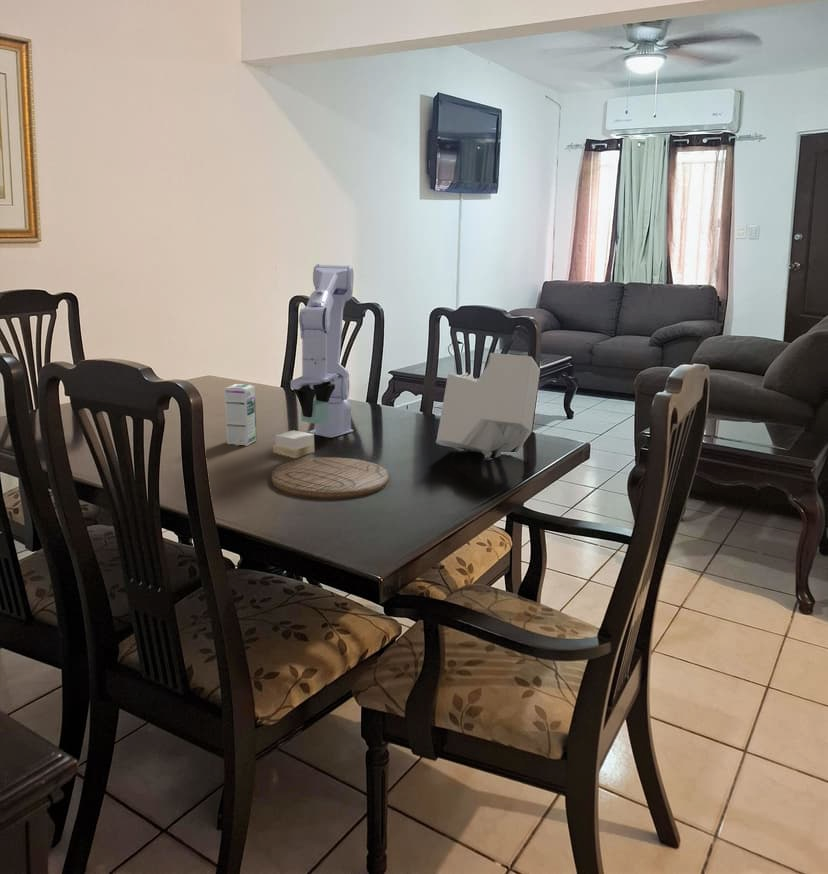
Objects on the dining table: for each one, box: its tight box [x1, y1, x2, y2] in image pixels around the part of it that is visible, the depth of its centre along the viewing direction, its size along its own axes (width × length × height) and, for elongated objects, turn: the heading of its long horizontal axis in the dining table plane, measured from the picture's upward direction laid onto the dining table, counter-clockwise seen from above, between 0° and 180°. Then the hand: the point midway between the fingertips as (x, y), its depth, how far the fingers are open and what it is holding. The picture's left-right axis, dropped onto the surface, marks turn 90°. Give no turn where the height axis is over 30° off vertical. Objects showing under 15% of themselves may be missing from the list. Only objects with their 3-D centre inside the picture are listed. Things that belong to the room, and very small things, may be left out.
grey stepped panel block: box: [435, 352, 541, 459], centre depth 188 cm, size 20×16×25 cm
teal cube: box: [300, 400, 328, 425], centre depth 187 cm, size 4×4×4 cm
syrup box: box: [224, 383, 258, 447], centre depth 195 cm, size 6×6×14 cm
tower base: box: [272, 443, 316, 459], centre depth 189 cm, size 7×7×2 cm
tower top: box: [275, 429, 315, 450], centre depth 188 cm, size 6×6×2 cm
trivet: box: [271, 457, 389, 500], centre depth 169 cm, size 25×25×2 cm
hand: (314, 414), depth 187 cm, fingers closed on teal cube, 4 cm apart
